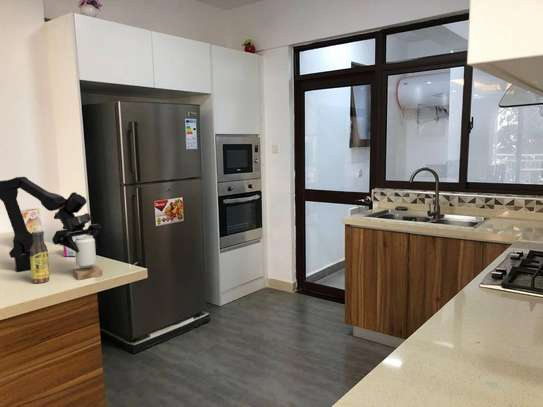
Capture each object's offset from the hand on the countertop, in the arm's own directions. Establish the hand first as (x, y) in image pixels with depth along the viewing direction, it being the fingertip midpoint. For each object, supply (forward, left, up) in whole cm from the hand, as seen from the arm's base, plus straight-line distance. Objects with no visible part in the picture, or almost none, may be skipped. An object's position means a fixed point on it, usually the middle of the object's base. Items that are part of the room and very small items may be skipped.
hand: (87, 249), depth 169 cm
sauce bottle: (-17, +5, -11) cm, 21 cm away
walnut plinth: (0, +1, -11) cm, 11 cm away
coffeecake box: (-10, +84, -11) cm, 85 cm away
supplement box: (+3, +42, -11) cm, 44 cm away
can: (0, +1, -7) cm, 7 cm away
